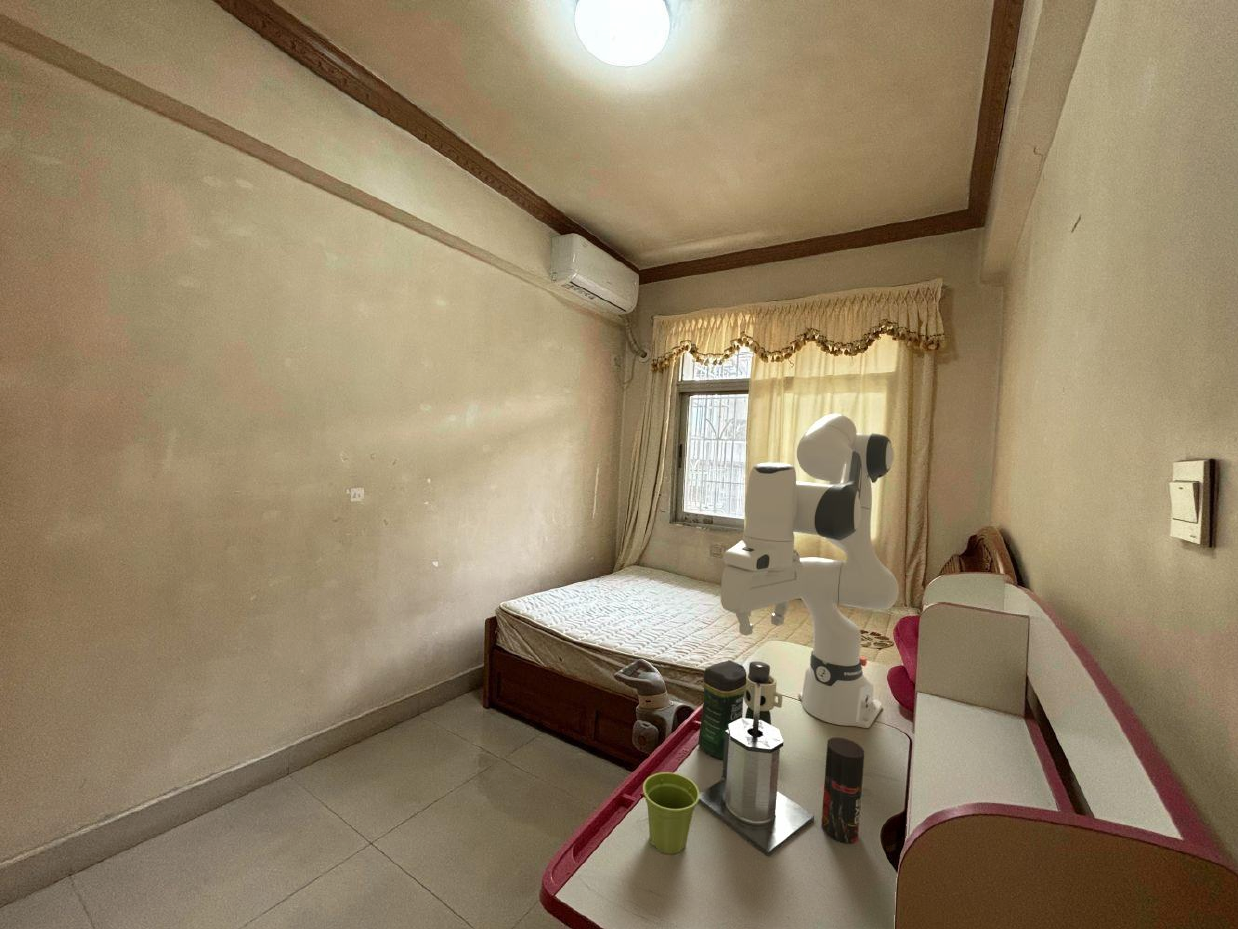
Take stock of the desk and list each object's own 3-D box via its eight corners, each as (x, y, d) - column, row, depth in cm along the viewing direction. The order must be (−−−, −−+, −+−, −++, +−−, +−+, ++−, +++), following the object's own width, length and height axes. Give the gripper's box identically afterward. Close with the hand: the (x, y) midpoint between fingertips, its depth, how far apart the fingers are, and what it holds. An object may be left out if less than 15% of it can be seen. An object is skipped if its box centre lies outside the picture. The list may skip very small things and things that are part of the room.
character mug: (728, 728, 119) (732, 674, 118) (743, 717, 124) (746, 666, 124) (772, 749, 112) (776, 691, 111) (785, 736, 117) (789, 681, 116)
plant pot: (639, 817, 89) (642, 769, 89) (693, 821, 89) (696, 773, 88) (640, 860, 80) (643, 807, 79) (699, 865, 79) (702, 812, 79)
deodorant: (855, 849, 84) (862, 762, 84) (818, 833, 88) (824, 749, 87) (860, 827, 89) (866, 745, 89) (824, 813, 93) (830, 733, 92)
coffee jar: (721, 765, 105) (727, 678, 104) (692, 747, 111) (697, 664, 110) (748, 748, 112) (753, 666, 111) (719, 732, 117) (724, 653, 117)
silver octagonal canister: (741, 772, 103) (746, 701, 103) (813, 820, 91) (819, 740, 90) (695, 799, 94) (699, 722, 94) (768, 856, 82) (774, 768, 81)
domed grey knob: (752, 731, 94) (757, 659, 93) (769, 741, 91) (774, 667, 91) (740, 738, 92) (745, 664, 91) (757, 748, 89) (762, 672, 88)
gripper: (784, 545, 99) (779, 614, 100) (716, 554, 86) (711, 633, 87) (814, 551, 94) (809, 624, 95) (747, 562, 81) (741, 646, 82)
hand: (761, 629), depth 91 cm, fingers open, 8 cm apart
